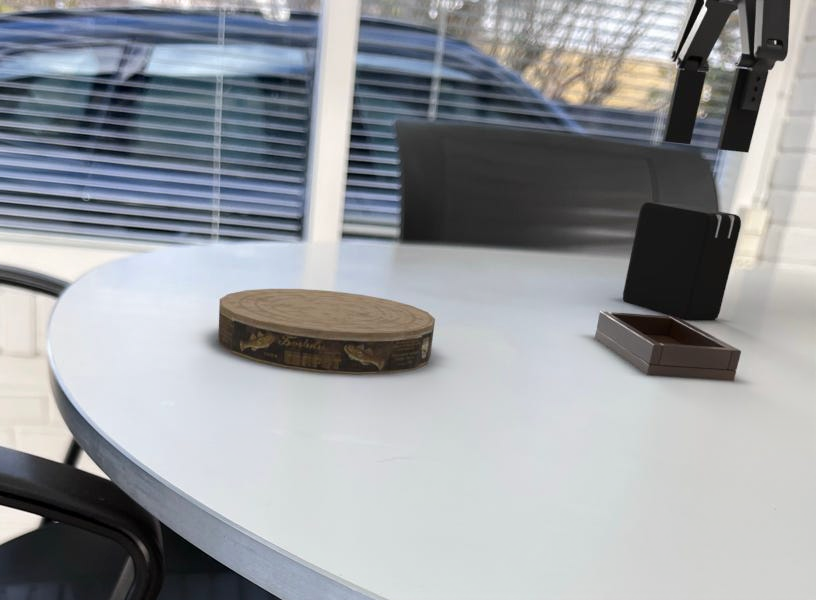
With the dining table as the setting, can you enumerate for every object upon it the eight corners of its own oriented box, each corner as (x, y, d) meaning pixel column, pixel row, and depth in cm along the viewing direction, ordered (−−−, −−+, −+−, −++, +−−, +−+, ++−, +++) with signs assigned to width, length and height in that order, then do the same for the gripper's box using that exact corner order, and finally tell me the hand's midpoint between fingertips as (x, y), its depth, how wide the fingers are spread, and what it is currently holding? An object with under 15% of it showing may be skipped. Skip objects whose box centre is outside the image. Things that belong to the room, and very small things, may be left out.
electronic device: (650, 302, 114) (672, 202, 109) (717, 322, 106) (744, 215, 101) (620, 302, 112) (641, 201, 107) (686, 322, 104) (711, 214, 99)
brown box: (670, 346, 93) (677, 316, 92) (733, 383, 81) (742, 350, 80) (593, 340, 92) (599, 311, 91) (646, 377, 80) (653, 344, 79)
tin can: (180, 353, 74) (181, 309, 73) (265, 318, 88) (267, 280, 87) (397, 389, 70) (402, 344, 69) (451, 347, 84) (456, 308, 83)
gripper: (670, -105, 102) (622, 136, 112) (791, -155, 81) (719, 150, 90) (743, -95, 103) (689, 143, 113) (883, -142, 81) (801, 159, 91)
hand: (702, 147), depth 102 cm, fingers open, 13 cm apart
